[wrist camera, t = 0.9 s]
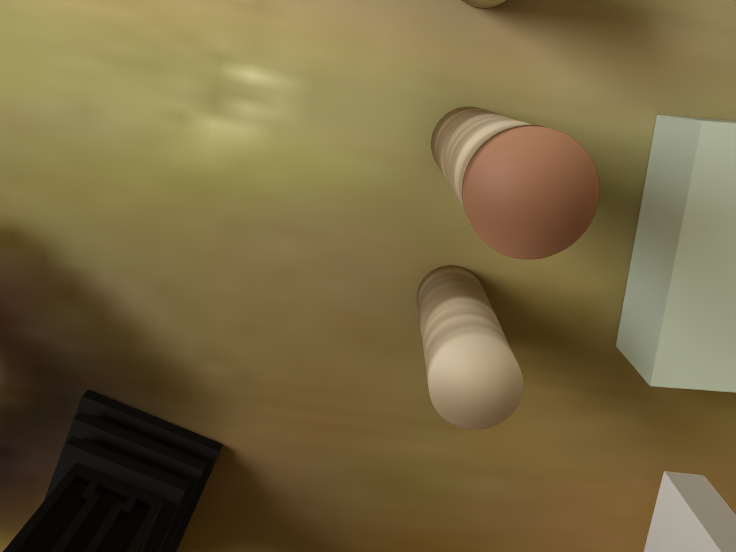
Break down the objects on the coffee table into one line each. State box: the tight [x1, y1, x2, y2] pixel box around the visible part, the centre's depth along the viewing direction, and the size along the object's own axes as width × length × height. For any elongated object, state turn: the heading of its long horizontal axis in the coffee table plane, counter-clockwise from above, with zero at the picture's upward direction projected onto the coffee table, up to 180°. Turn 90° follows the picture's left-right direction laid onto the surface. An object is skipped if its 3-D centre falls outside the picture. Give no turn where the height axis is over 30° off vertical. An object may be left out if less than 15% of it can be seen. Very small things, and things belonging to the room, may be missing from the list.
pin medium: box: [417, 265, 524, 429], centre depth 31 cm, size 4×4×11 cm
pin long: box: [431, 107, 600, 259], centre depth 26 cm, size 4×4×16 cm
